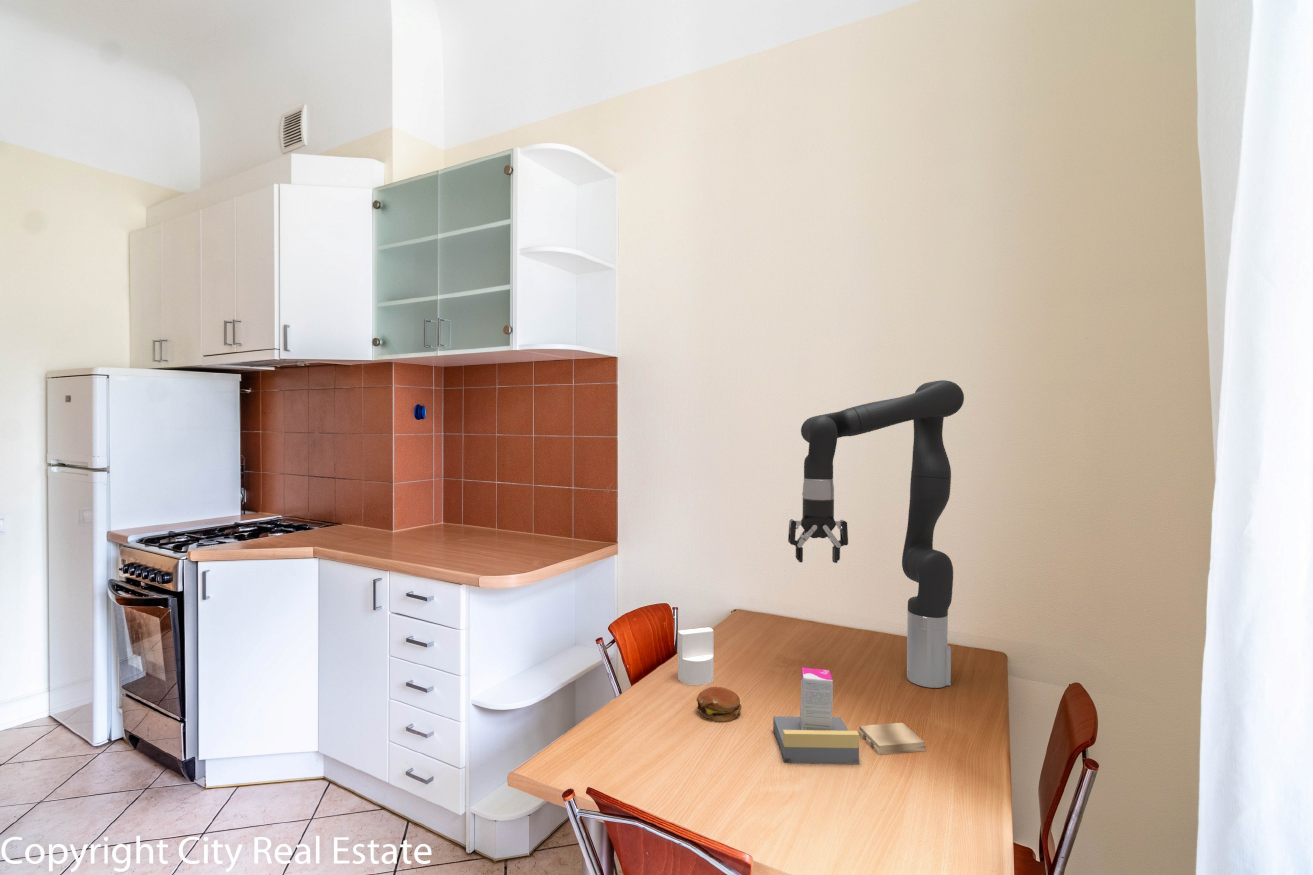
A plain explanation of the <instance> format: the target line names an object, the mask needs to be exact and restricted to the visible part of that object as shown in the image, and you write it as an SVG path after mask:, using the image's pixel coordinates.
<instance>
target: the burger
mask: <svg viewBox="0 0 1313 875" xmlns="http://www.w3.org/2000/svg"><path fill="white" fill-rule="evenodd" d="M696 702H697V707H696V708H697V710H699V713H700V715H701V716H702V717H704V718H705V719H710V720H712V722H715V723H727V722H732V721H734V720H736V718H738V715H739V714H740V712H741V710H742V704H741V698H740V697H739V694H737V693H736V692H734V691H733V690H731V689H728V688H726V687H722V686H711V687H707V688H705V689H703V690H702V691H700V692H699V694H697V696H696Z"/></svg>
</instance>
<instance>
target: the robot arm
mask: <svg viewBox="0 0 1313 875" xmlns="http://www.w3.org/2000/svg"><path fill="white" fill-rule="evenodd" d="M964 401H965V394H964V391H963V389H962V388H961V387H960V386H959V385H958V384H957V383H956V382H953V381H950V380H947V379H946V380H943V379H942V380H934V381H929V382H925V383H923V384H921V385H920V386H919V387H917V389H916V390H915V392H913V393H911V394H908V395H903V396H900V397H895V398H894V397H893V398H889V399H884V400H879V401H872V402H867V403H863V404H860V405H856V406H852V407H849V408H848V407H847V408H845V409H842V410H839V411H835V412H828V413H823V414H819V415H815V416H811V417H809V418H807V419H805V421H804V422H803V423H802V425H801V428H800V433H801V437H802V439H803V440H805V441H806V443H808V454H807V455H806V457H805V458H804V460H803V461H804V462H803V483H802V493H801V494H802V518H801V520H794V519H790V520H789V523H788V538H787V542H788V543H789V544H790V545H792V546H794V547H795V559H796V560H797V561H798V563H803V562H804V558H803V556H804V553H803V552H804V547H803V546H804V544H805V543H806V542H807V541H808V540H809V539H810V538H811V539H819V538H820V539H826V538H827V539H828V540H829V541H830V542H831V543H832V545H833V546H832V552H831V553H832V555H831V557H832V560H831V561H832V563H834V564H837V563H838V561H840V560H841V548H842V547H844V546H848V544H849V532H848V531H849V530H848V522H847V521H845V520H844V519H840V520H835V517H834V516H835V485H834V459H835V455H836V450H837V443H838V439H839V438H844V437H854V436H859V435H862V434H866V433H870V432H874V431H877V430H881V429H885V428H888V427H892V426H894V425H898V424H901V423H905V422H909V421H912V422H913V444H912V458H911V470H910V483H909V485H910V487H909V506H908V507H909V508H908V514H907V515H908V518H907V527H906V534H905V539H904V545H903V550H902V555H901V556H902V558H901V566H902V571H903V573H904V575H905V576H906V577H907V578H908V579H909V580H911V581H913V582H916V583H918V590H917V595H916V596H912V597H910V598H909V599H908V600H907V619H906V620H907V621H906V622H907V623H906V624H907V626H906V627H907V630H906V631H907V632H906V633H907V634H906V637H907V638H906V639H907V640H906V642H907V643H906V649H907V650H906V679H907V680H908V681H909V682H911V683H913V684H914V685H918V686H920V687H924V688H930V689H931V688H932V689H936V688H937V689H939V688H945V687H947V686H951V684H952V683H951V681H952V680H951V679H952V676H951V674H952V671H951V670H952V666H951V665H952V648H951V646H950V645H949V644H948V635H949V634H948V629H949V626H948V622H949V620H948V618H949V608H950V606H951V603H952V598H953V589H954V588H953V585H954V566H953V562H952V560H951V558H950V556H949V555H947V554H946V553H944V552H942V551H940V550H936V549H934V547H933V546H934V545H933V544H934V531H935V527H936V524H937V522H938V520H939V518H940V516H941V515H942V514H943V512H944V510H945V508H946V507H947V505H948V501H949V500H950V495H951V486H952V485H951V484H952V482H951V481H952V469H951V463H950V460H949V457H948V453H947V451H946V447H945V445H944V440H943V438H944V437H943V430H944V429H943V428H944V418H947V417H951V416H953V415H954V414H956V413H958V412H959V410H960V409H962V407H963V406H964ZM800 526H801V528H802V529H803V531H802V532H801V534H800V535H799V537H798V538H797V539H796V530H798V529H799V527H800ZM835 527H837V529H838V530H839V536H840V539H839V540H838V539H837V537H836V536H835V534H834V533H833V531H834V529H835Z"/></svg>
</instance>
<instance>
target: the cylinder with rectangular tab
mask: <svg viewBox="0 0 1313 875" xmlns="http://www.w3.org/2000/svg"><path fill="white" fill-rule="evenodd" d="M714 632H715V631H714V630H713V628H711V627H709V626H708V627H698V628H692V629H690V628H689V629H681V630H677V649H678V650H677V679H678V681H679V680H680V681H679V682H680V683H682V682H683V683H682V684H684V683H685V684H684V685H688V684H689V685H688V686H694V685H700V686H705V684H706V685H709V684H711V683H712V682H714V662H715V661H714V660H715V659H714V648H715V647H714V642H715V641H714V638H715V637H714V636H715V635H714Z"/></svg>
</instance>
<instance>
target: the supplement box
mask: <svg viewBox="0 0 1313 875" xmlns="http://www.w3.org/2000/svg"><path fill="white" fill-rule="evenodd" d="M800 675H801V677H800V680H801V681H800V705H799V706H800V707H799V708H800V709H799V711H800V712H799V717H800V728H801V730H832V717H833V700H834V698H833V696H834V695H833V694H834V692H833V690H834V680H833V676H832V673H831V671H830V670H829V669H823V668H822V669H821V668H813V667H812V668H809V667H801V674H800Z"/></svg>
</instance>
